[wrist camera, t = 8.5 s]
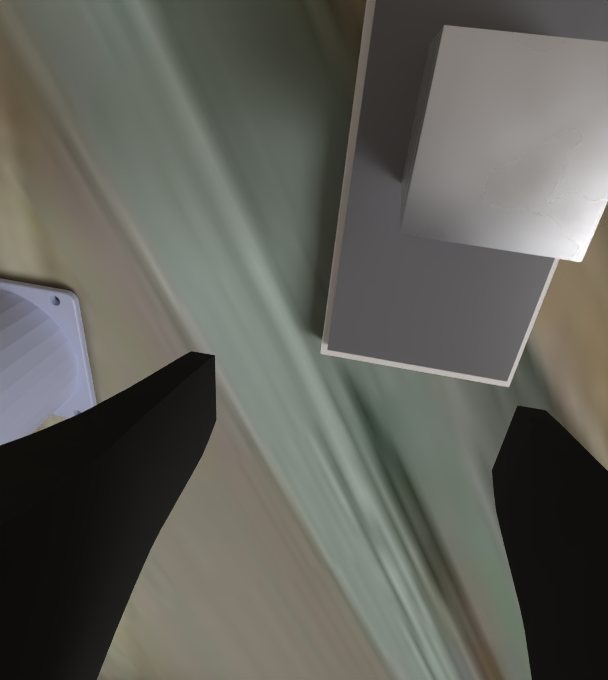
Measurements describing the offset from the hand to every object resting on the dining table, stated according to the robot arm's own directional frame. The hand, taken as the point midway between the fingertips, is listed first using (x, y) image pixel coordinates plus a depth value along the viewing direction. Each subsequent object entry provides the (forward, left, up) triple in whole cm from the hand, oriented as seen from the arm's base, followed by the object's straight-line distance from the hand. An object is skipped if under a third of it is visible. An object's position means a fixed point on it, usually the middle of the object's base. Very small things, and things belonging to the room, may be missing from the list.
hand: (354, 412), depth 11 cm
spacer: (+2, +6, -8) cm, 10 cm away
